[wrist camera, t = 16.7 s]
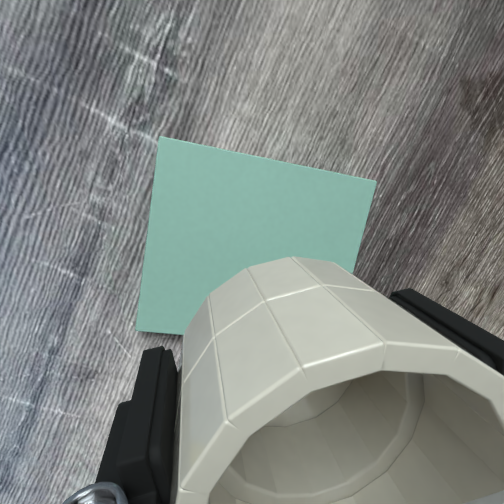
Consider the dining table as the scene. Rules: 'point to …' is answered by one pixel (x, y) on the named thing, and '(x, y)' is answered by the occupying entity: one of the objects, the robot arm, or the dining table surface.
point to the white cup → (328, 398)
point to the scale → (237, 224)
